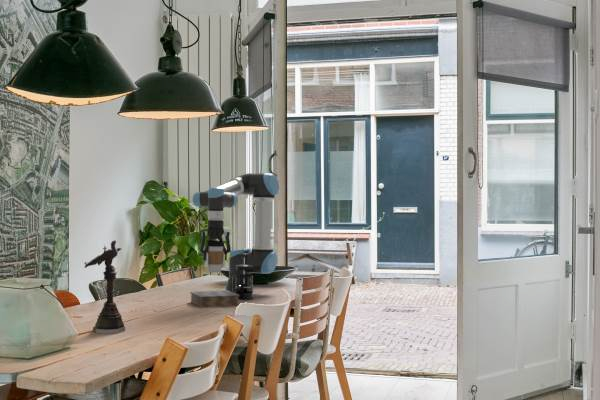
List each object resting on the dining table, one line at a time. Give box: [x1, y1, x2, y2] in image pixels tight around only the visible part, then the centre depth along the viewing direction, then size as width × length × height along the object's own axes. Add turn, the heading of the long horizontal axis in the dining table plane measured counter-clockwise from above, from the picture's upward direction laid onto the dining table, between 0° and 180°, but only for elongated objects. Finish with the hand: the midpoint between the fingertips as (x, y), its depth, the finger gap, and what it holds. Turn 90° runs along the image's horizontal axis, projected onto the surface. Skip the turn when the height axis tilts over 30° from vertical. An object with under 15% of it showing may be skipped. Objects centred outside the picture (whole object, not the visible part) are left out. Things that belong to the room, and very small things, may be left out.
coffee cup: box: [206, 239, 225, 273], centre depth 349 cm, size 8×8×15 cm
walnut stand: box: [189, 289, 240, 308], centre depth 349 cm, size 19×19×5 cm
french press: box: [231, 253, 254, 301], centre depth 368 cm, size 12×9×23 cm
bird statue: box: [84, 240, 126, 335], centre depth 275 cm, size 17×13×35 cm
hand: (214, 267), depth 349 cm, fingers closed on coffee cup, 8 cm apart
